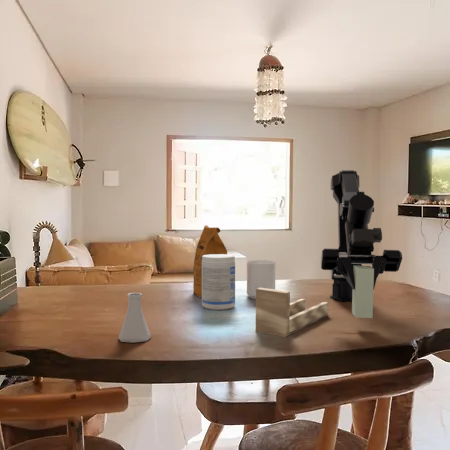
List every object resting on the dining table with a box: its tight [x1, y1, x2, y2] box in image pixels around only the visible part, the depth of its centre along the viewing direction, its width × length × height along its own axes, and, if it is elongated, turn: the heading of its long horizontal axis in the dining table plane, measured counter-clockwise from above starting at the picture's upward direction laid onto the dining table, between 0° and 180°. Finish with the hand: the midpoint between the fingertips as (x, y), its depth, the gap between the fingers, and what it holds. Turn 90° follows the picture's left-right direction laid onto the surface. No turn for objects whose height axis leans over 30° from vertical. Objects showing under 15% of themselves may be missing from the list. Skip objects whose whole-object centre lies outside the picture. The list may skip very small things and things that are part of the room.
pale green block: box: [351, 265, 374, 319], centre depth 112 cm, size 5×4×12 cm
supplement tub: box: [201, 253, 236, 311], centre depth 134 cm, size 10×10×15 cm
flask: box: [118, 292, 152, 344], centre depth 104 cm, size 7×7×10 cm
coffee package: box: [192, 225, 228, 299], centre depth 150 cm, size 10×12×22 cm
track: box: [255, 288, 329, 338], centre depth 117 cm, size 24×8×10 cm, turn 145°
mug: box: [246, 259, 277, 300], centre depth 149 cm, size 12×9×11 cm
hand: (363, 288), depth 110 cm, fingers closed on pale green block, 4 cm apart
